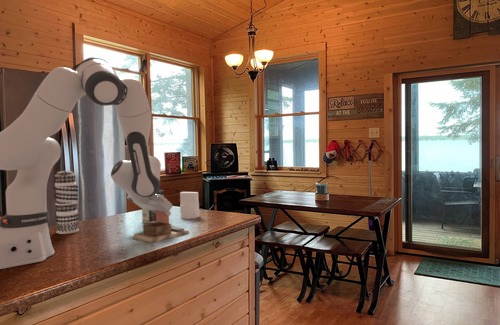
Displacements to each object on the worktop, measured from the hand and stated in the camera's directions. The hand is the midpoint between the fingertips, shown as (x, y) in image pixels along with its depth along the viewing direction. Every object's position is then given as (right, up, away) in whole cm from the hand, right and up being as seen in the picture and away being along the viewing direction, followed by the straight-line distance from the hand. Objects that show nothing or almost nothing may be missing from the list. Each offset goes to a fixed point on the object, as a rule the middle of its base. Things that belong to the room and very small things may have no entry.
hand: (163, 213), depth 158 cm
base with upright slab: (+7, -5, +23) cm, 25 cm away
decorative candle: (-39, -7, -3) cm, 40 cm away
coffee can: (-8, -6, +15) cm, 18 cm away
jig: (+2, -6, -14) cm, 16 cm away
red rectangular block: (0, -6, 0) cm, 6 cm away
